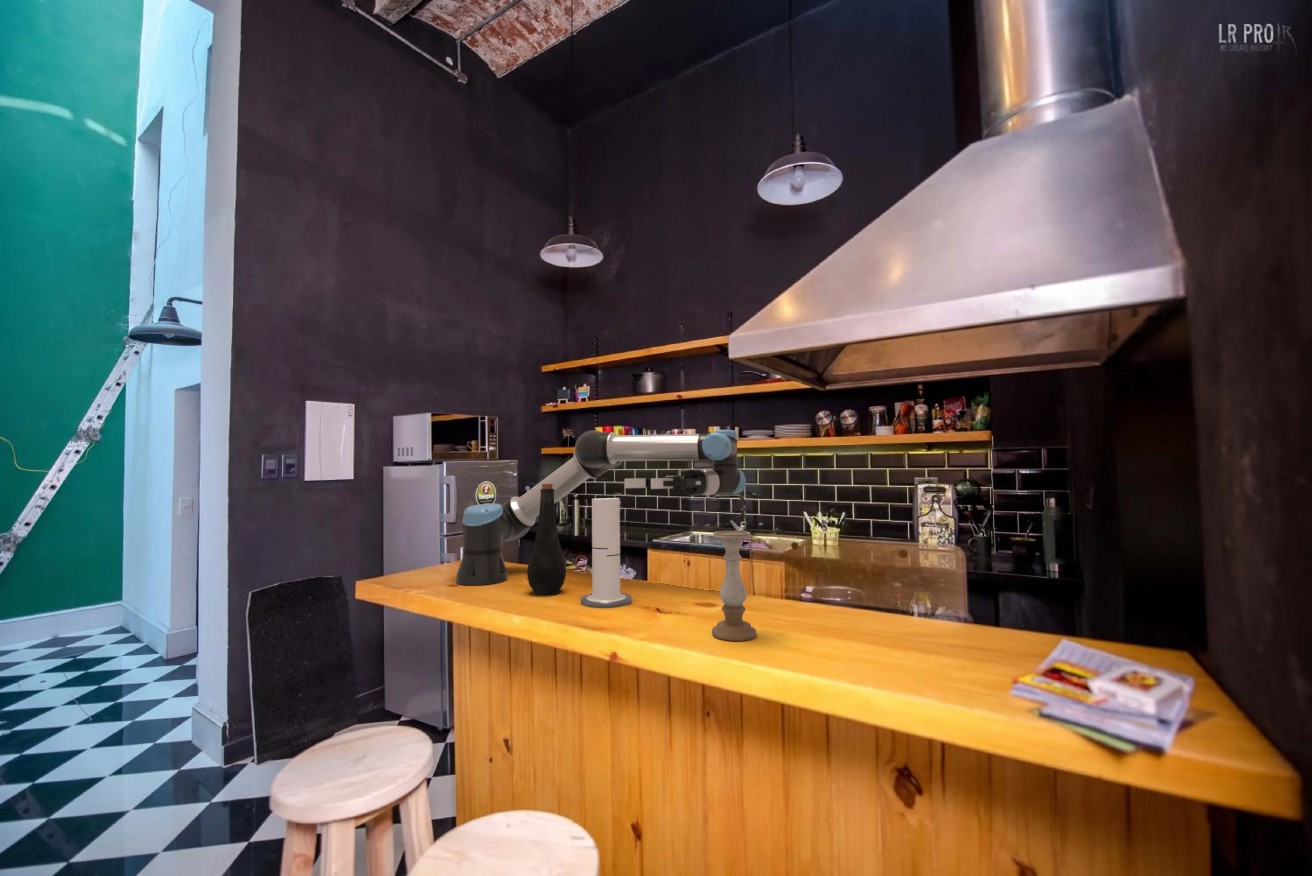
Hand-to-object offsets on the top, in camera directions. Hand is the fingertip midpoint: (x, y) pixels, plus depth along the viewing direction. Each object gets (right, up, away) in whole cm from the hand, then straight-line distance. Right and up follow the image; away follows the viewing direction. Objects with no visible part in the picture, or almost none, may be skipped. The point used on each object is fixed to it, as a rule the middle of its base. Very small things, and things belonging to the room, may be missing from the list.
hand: (637, 483), depth 142 cm
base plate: (-8, -30, -8) cm, 31 cm away
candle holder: (+21, -27, -37) cm, 50 cm away
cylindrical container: (-8, -29, -7) cm, 31 cm away
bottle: (-25, -31, +4) cm, 40 cm away
